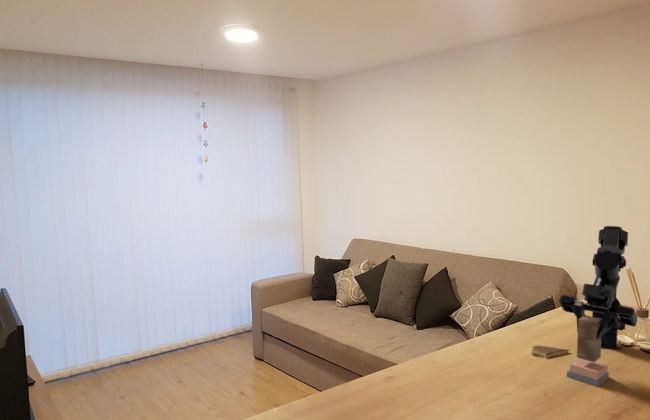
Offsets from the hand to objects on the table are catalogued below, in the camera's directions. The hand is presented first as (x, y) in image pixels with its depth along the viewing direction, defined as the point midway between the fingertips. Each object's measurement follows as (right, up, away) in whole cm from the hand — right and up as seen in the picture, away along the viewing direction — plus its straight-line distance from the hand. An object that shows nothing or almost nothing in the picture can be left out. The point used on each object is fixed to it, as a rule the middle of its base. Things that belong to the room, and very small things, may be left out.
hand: (587, 335), depth 129 cm
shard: (-2, -11, +20) cm, 23 cm away
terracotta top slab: (+1, -11, +2) cm, 11 cm away
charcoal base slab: (+1, -13, +2) cm, 13 cm away
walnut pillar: (+1, -6, +2) cm, 7 cm away
